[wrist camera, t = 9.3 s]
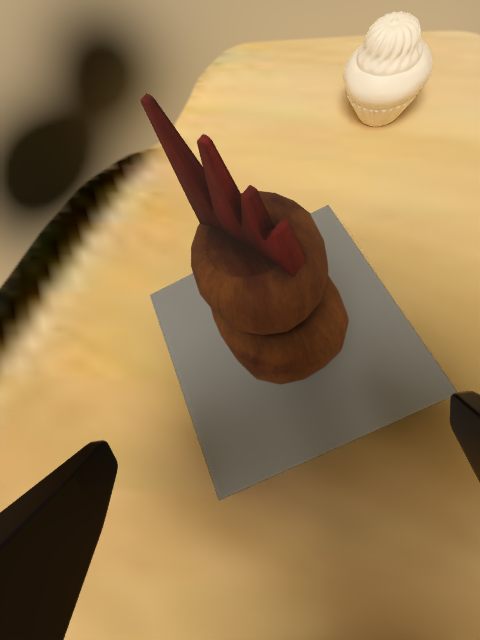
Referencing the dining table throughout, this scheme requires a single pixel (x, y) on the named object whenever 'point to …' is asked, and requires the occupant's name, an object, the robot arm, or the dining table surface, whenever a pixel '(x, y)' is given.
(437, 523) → the dining table surface
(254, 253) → the wooden figurine
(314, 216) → the plinth
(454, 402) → the robot arm
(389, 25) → the muffin
